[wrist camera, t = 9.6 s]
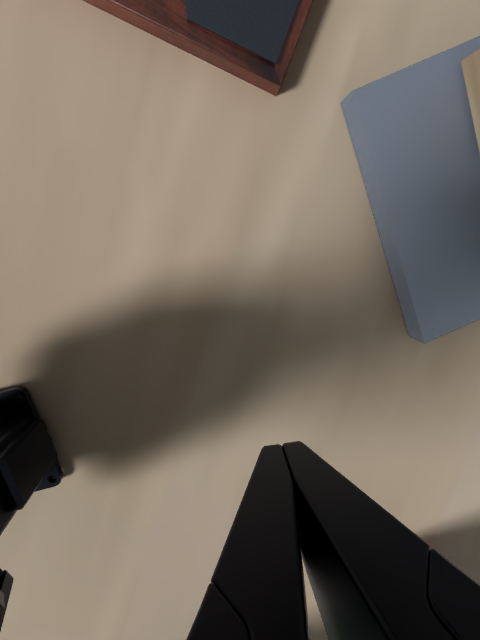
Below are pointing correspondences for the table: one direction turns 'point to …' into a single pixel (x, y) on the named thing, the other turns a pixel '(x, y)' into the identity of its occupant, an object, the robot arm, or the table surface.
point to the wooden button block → (473, 88)
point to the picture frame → (223, 32)
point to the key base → (424, 187)
